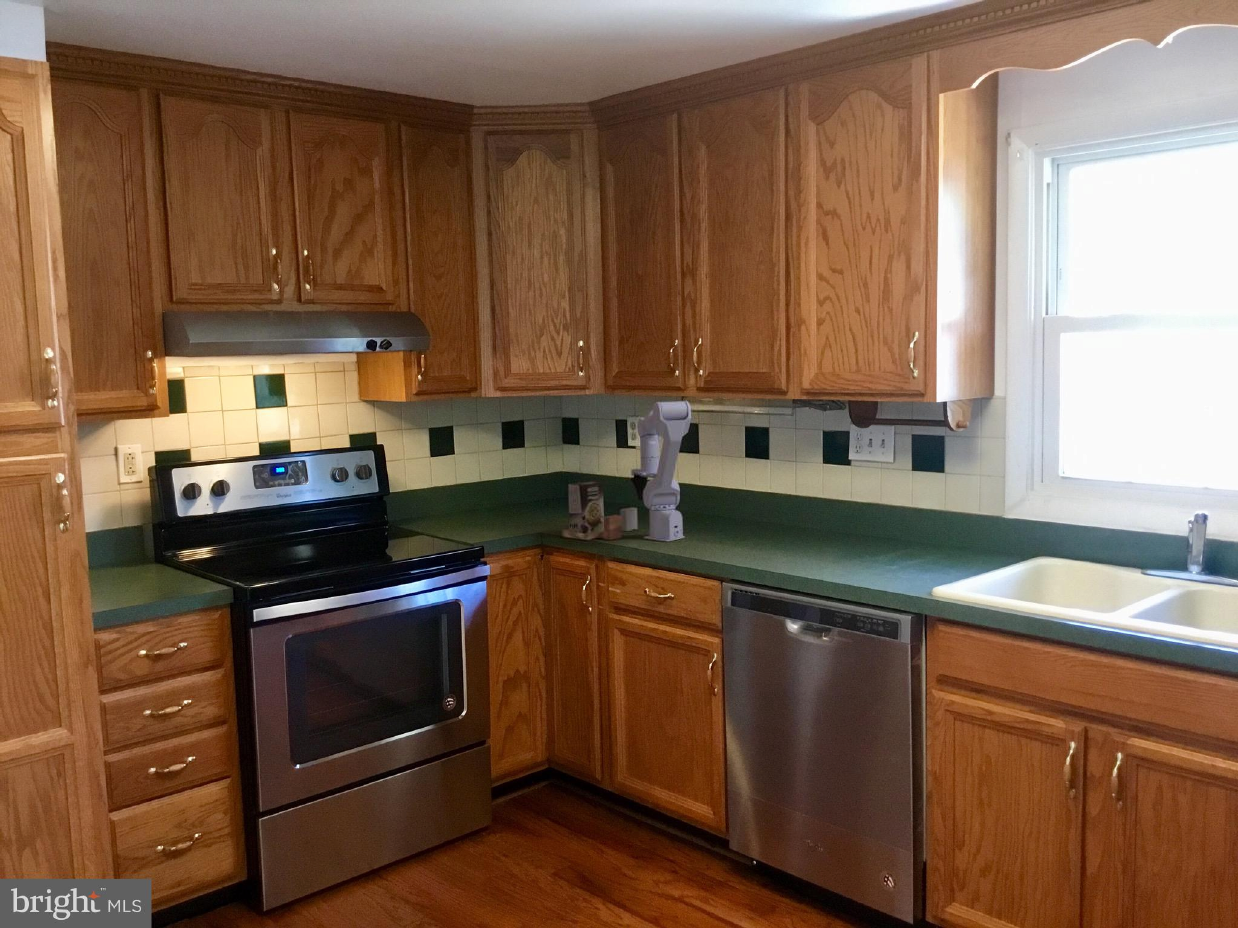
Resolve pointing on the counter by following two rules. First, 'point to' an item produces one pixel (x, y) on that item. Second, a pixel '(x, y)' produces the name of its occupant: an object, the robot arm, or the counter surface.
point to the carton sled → (610, 531)
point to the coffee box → (586, 507)
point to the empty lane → (628, 519)
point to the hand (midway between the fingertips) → (650, 501)
